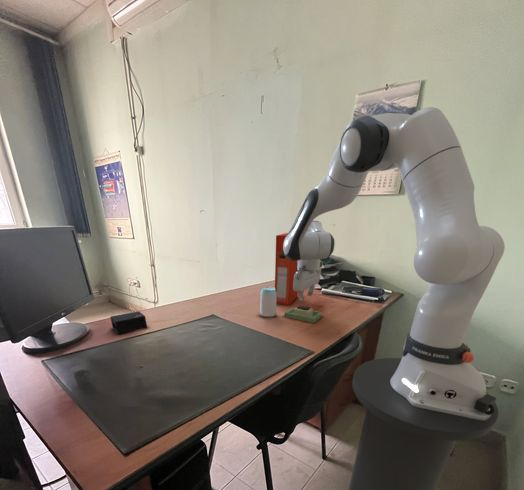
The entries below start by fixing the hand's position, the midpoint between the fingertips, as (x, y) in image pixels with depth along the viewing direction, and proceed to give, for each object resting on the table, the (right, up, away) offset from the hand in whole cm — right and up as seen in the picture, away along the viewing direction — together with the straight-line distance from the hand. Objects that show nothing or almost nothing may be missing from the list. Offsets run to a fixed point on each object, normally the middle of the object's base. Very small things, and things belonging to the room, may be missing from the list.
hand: (305, 297), depth 121 cm
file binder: (-6, +4, +27) cm, 28 cm away
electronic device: (-70, -14, -11) cm, 72 cm away
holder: (0, -8, +4) cm, 9 cm away
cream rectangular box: (-1, -7, +4) cm, 8 cm away
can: (-16, -7, +5) cm, 18 cm away
